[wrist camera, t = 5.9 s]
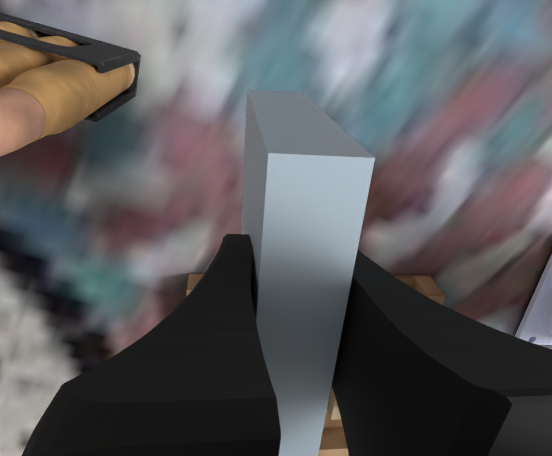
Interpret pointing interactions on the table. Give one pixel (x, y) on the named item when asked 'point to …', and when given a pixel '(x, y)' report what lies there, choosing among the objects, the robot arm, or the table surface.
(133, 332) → the table surface
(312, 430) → the block
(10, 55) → the ammunition clip
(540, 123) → the table surface
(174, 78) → the table surface
